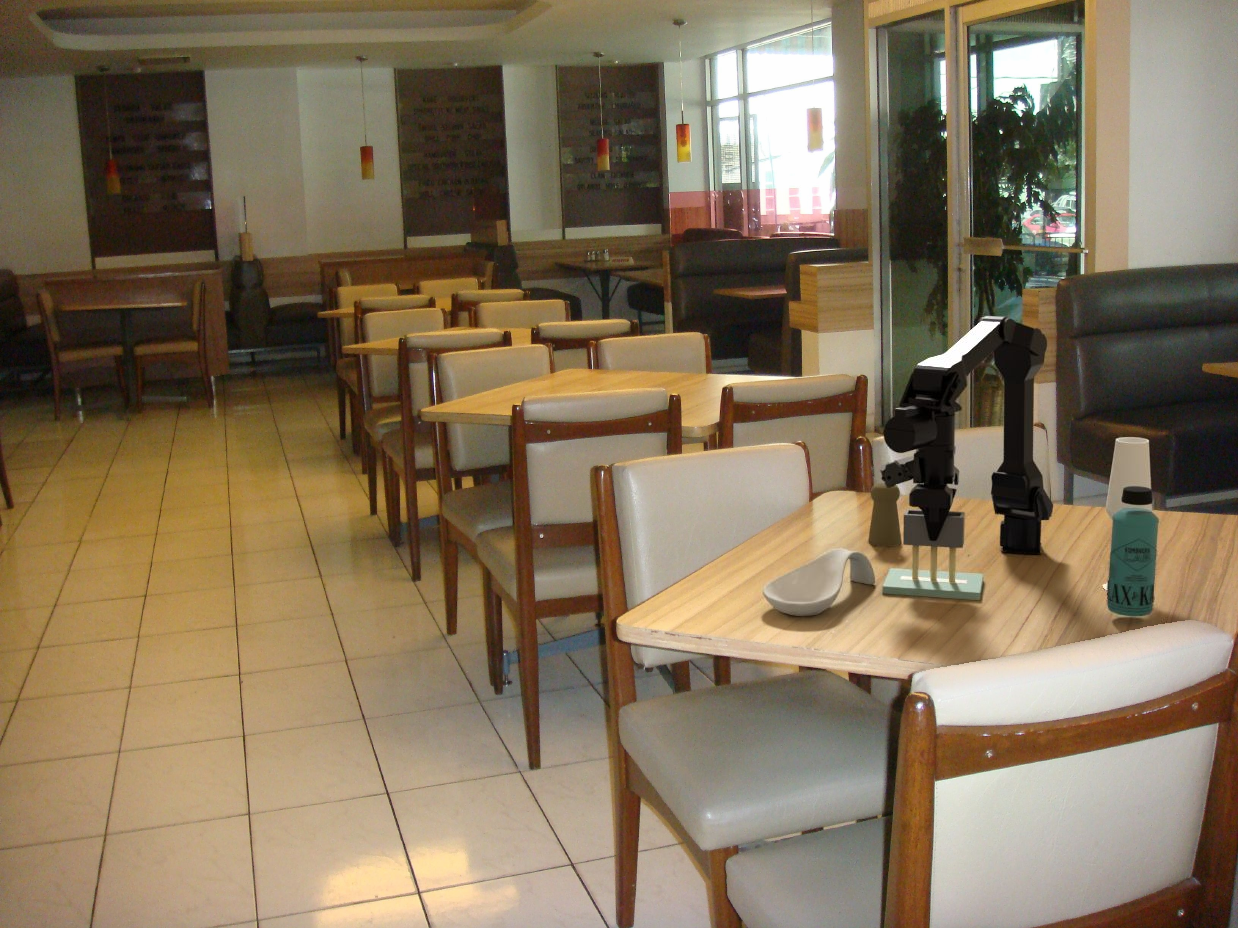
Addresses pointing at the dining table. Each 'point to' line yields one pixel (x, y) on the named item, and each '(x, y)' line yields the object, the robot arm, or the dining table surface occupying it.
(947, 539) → the plug housing
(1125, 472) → the white vase
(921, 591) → the header board
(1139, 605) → the beverage bottle
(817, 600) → the spoon rest
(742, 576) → the dining table surface
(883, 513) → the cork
